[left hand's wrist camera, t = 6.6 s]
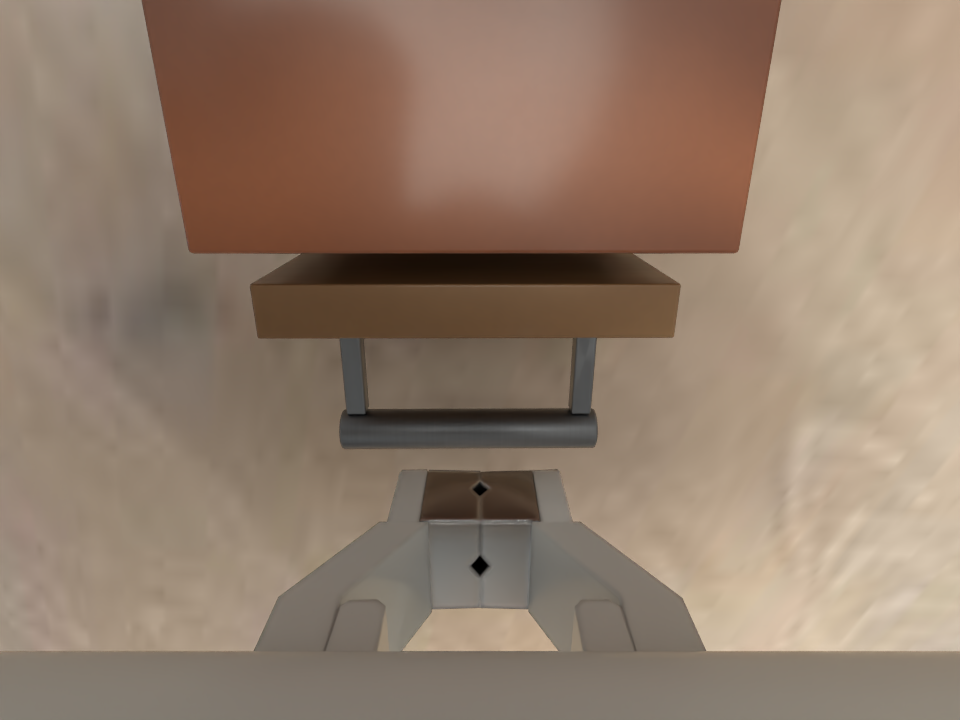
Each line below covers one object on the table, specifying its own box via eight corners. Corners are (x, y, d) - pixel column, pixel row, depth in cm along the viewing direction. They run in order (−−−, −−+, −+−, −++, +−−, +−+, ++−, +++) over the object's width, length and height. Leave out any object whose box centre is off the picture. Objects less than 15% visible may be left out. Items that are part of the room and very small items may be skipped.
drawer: (588, 400, 21) (648, 528, 14) (350, 400, 21) (286, 531, 13) (663, -528, 12) (918, -1436, 5) (264, -534, 12) (-20, -1468, 5)
